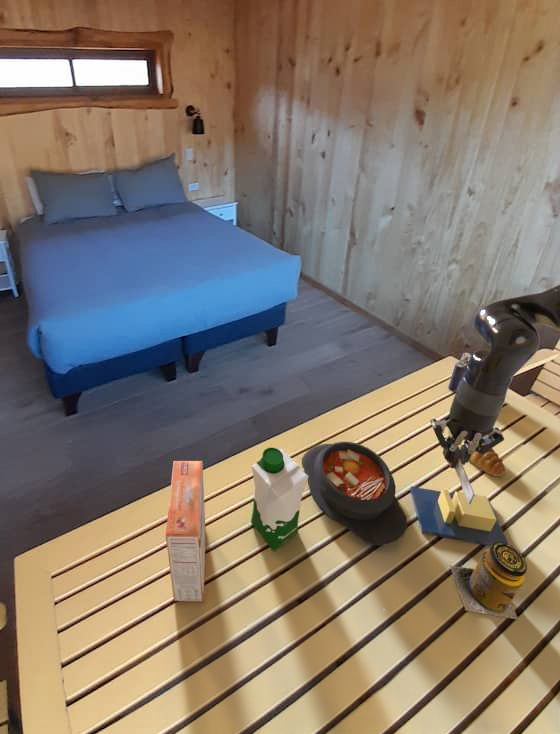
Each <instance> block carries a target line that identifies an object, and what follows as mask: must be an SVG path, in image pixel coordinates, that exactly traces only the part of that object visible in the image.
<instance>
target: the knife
mask: <svg viewBox="0 0 560 734" xmlns="http://www.w3.org/2000/svg"><path fill="white" fill-rule="evenodd" d="M443 450H444V448H442V451H443ZM463 462H464V458H463V456H462V454H461V451H460V445H458V447H457V449H456V453H455V455H454V457H453V459H452V462H451V463H449V462H447V464H448V465H449V467H450V468H451V469H454V471H455V474H456V476H457V478H458V481H459V483H460V485H461V488H462V492H463V493H465V496H466V498H467V501H468V503H469V504H471V502H472V500H473V498H474V496H475V495H476V494H475V491H474V489H473V487H472V484H471V482H470V479H469V477H468V474H467V472H466V470H465V467H464V465H463Z"/></svg>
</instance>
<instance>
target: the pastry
mask: <svg viewBox="0 0 560 734" xmlns="http://www.w3.org/2000/svg"><path fill="white" fill-rule="evenodd" d="M484 444H485V443H483V444H482V446H483V445H484ZM462 445H464V441H462V443H461V445H459V449H460V448H461V446H462ZM469 462H470V463H472V464H473V465H475V467H477V468H479V469H480V470H481V471H483V472H484V473H486V474H489V475H490V476H491V475H492V476H493V477H500V476H502V475H503V474H504V473H506V467H505V464H504V463H503V460H502V459H501V458H500V457H499V454H498V453H497V452H495V450H494V448H491V449H490V450H488V451H487V452H485V453H483V454H480V453H479V452H475V453H474V454H472V455H471V457H470V459H469Z"/></svg>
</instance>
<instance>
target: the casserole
mask: <svg viewBox="0 0 560 734" xmlns="http://www.w3.org/2000/svg"><path fill="white" fill-rule="evenodd" d="M301 466H302V470H303V471H304V472H305V473H306V474H307V475H308V479H307V483H308V488H309V492H310V495H311V497H312V499H313V501H314V502H315V504H316V505H317V507H318V509H320V510H321V512H322V513H323V514H324V515H326V516H327V517H328V518H329V519H331V520H332V521H333V522H335V523H337V524H338V525H340V526H342V527H344V528H346V529H347V530H349V531H351V532H352V533H353V534H354V535H355V536H356V537H358V538H359V539H360V540H362V541H363V542H365V543H366V544H369V545H372V546H387V545H391V544H393V543H395V542H397V541H398V540H399V539H400V538H402V536H403V535H404V534H405V532H406V531H407V527H408V524H409V523H408V517H407V515H406V514H405V512H404V510H403V508H402V507H401V505H400V504H399V501H398V500H397V497H396V490H397V489H396V488H397V487H396V483H395V479H394V476H393V474H392V472H391V470H390V468H389V467H388V465H387V463H386V462H385V460H384V459H382V457H381V456H380V455H379V454H378V453H376V452H375V451H373V450H372V449H370V448H369V447H367V446H366V445H365V446H364V445H363V444H360V443H356V442H353V441H337V442H334V443H323V444H322V443H321V444H319V445H316V446H313V447H311V448H310V449H308V450H307V451H306V452H305V453H304V455H303V456H302V458H301Z"/></svg>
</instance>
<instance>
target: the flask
mask: <svg viewBox="0 0 560 734" xmlns="http://www.w3.org/2000/svg"><path fill="white" fill-rule="evenodd" d="M471 356H472V354H471V353H470V352H469V353H468V352H463V353H462V354H461V358H460V359H459V360H458V361H457V362H455V364H454V368H453V371H452V374H451V376H450V377H451V378H450V380H449V383H448V386H447V388H448V390H449V391H451V392H456V390H457V388H458V385H459V383H460V381H461V379H462V378H463V376H464V373H465V370H466V368H467V365H468V362H469V360H470V358H471Z"/></svg>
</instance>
